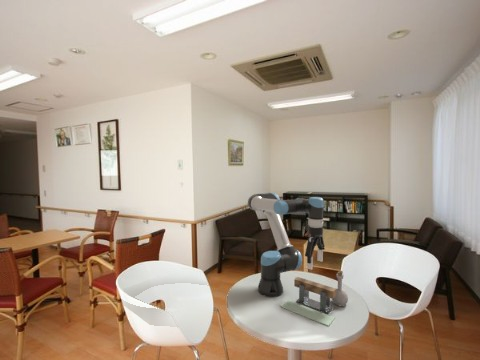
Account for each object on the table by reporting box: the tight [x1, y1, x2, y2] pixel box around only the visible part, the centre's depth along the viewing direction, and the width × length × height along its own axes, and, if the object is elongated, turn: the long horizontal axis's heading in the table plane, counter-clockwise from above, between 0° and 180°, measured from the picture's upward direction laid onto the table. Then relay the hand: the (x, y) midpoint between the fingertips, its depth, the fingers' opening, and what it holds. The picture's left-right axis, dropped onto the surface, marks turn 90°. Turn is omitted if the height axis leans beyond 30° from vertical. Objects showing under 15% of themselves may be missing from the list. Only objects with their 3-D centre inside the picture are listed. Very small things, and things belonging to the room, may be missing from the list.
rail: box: [293, 276, 337, 300], centre depth 138 cm, size 22×4×4 cm, turn 50°
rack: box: [295, 284, 334, 315], centre depth 139 cm, size 18×7×10 cm, turn 50°
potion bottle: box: [331, 270, 349, 307], centre depth 141 cm, size 9×9×18 cm
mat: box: [280, 299, 336, 327], centre depth 132 cm, size 26×8×1 cm, turn 50°
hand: (315, 264), depth 138 cm, fingers open, 13 cm apart
